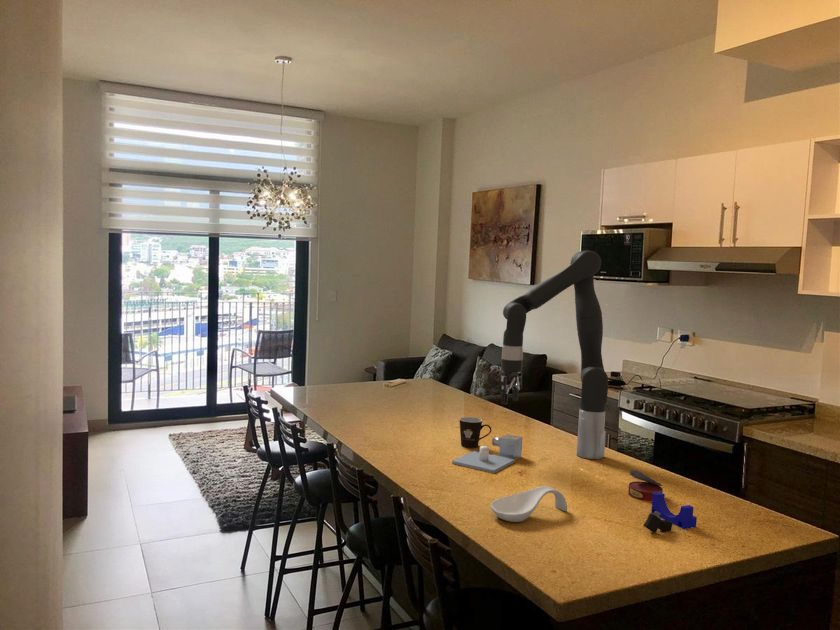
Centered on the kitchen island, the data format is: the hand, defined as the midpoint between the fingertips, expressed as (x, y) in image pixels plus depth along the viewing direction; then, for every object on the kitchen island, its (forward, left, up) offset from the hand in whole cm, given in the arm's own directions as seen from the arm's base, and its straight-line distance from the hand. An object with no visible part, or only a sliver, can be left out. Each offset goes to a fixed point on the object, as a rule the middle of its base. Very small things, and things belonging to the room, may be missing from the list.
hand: (509, 402), depth 242 cm
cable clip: (-64, +28, -20) cm, 73 cm away
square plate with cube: (+2, +16, -19) cm, 25 cm away
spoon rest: (-31, +50, -20) cm, 62 cm away
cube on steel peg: (-1, +3, -19) cm, 19 cm away
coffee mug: (+15, 0, -19) cm, 24 cm away
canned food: (-52, +13, -20) cm, 57 cm away
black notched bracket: (-62, +40, -19) cm, 76 cm away
